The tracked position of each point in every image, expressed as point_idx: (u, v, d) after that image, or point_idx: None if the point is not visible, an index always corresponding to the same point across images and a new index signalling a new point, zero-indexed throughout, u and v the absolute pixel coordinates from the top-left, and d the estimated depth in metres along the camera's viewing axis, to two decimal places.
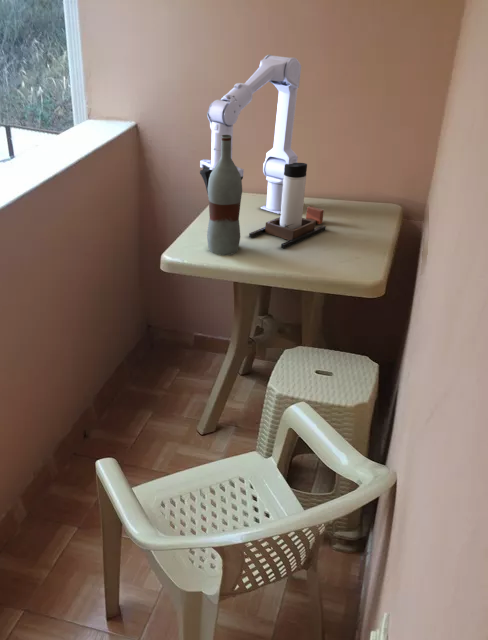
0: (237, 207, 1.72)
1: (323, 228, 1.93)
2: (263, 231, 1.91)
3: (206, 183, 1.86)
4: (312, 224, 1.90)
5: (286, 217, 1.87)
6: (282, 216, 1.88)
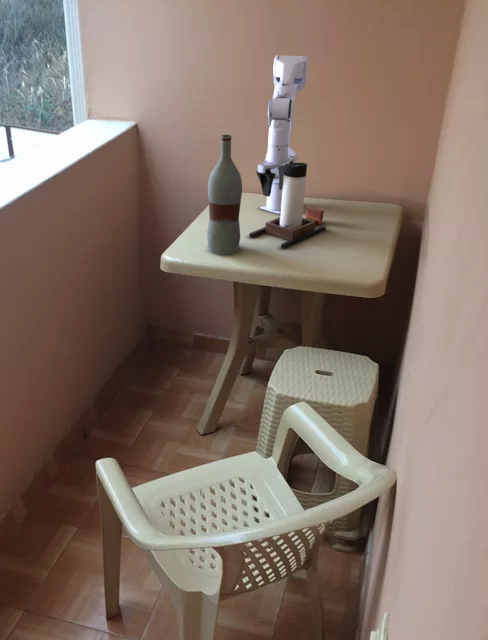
0: (237, 207, 1.72)
1: (323, 228, 1.93)
2: (263, 231, 1.91)
3: (271, 184, 1.86)
4: (312, 224, 1.90)
5: (286, 218, 1.87)
6: (282, 216, 1.88)
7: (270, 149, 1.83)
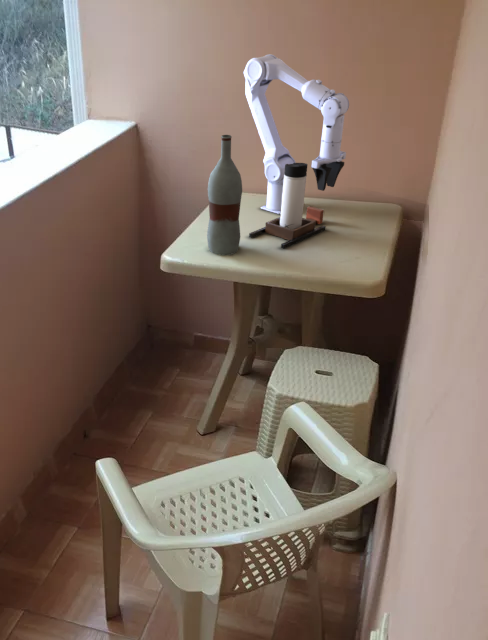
0: (237, 207, 1.72)
1: (323, 228, 1.93)
2: (263, 231, 1.91)
3: (326, 179, 1.92)
4: (312, 224, 1.90)
5: (286, 218, 1.87)
6: (282, 216, 1.88)
7: (323, 145, 1.88)
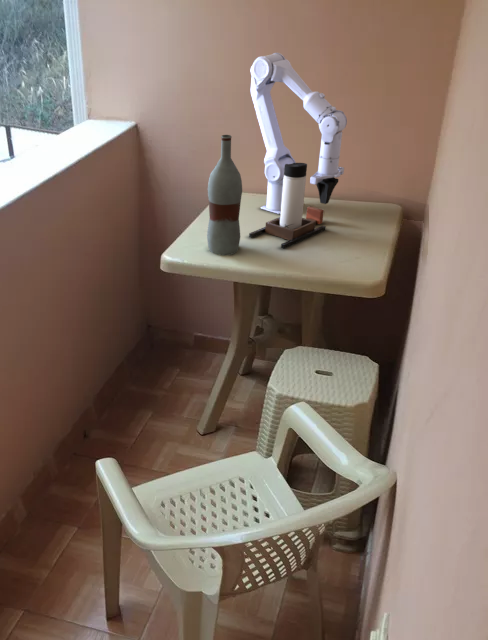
0: (237, 207, 1.72)
1: (323, 228, 1.93)
2: (263, 231, 1.91)
3: (329, 192, 1.95)
4: (312, 224, 1.90)
5: (286, 217, 1.87)
6: (282, 216, 1.88)
7: (322, 161, 1.90)
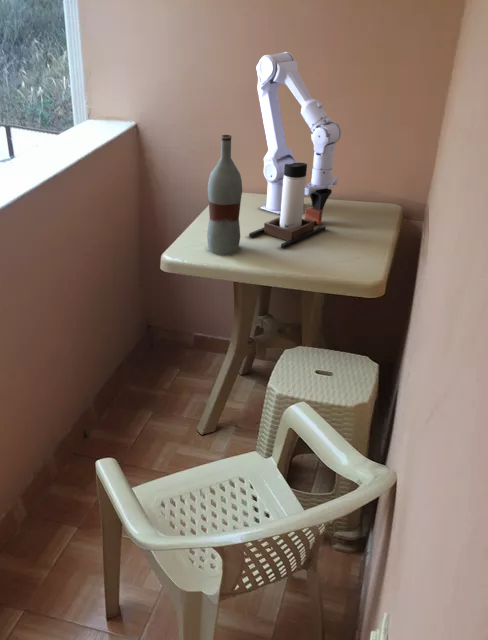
0: (237, 207, 1.72)
1: (323, 228, 1.93)
2: (263, 231, 1.91)
3: (322, 203, 1.95)
4: (311, 225, 1.89)
5: (286, 217, 1.87)
6: (282, 216, 1.88)
7: (315, 172, 1.90)
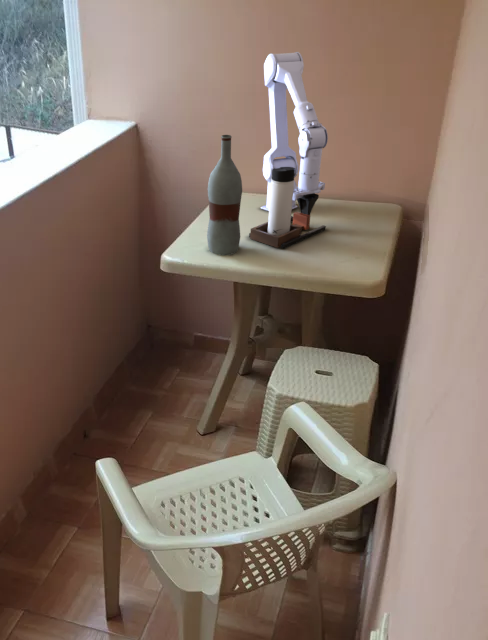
0: (237, 207, 1.72)
1: (323, 228, 1.93)
2: None
3: (310, 208, 1.92)
4: (298, 230, 1.86)
5: (274, 223, 1.84)
6: (270, 221, 1.85)
7: (301, 177, 1.86)
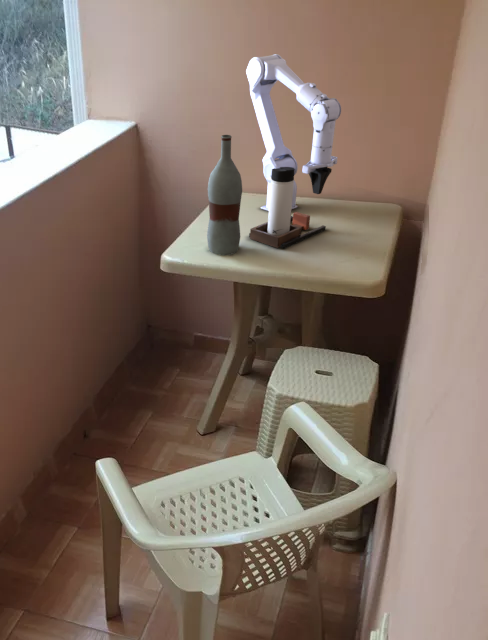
0: (237, 207, 1.72)
1: (323, 228, 1.93)
2: None
3: (321, 182, 1.91)
4: (298, 230, 1.86)
5: (274, 223, 1.84)
6: (270, 221, 1.85)
7: (314, 150, 1.86)
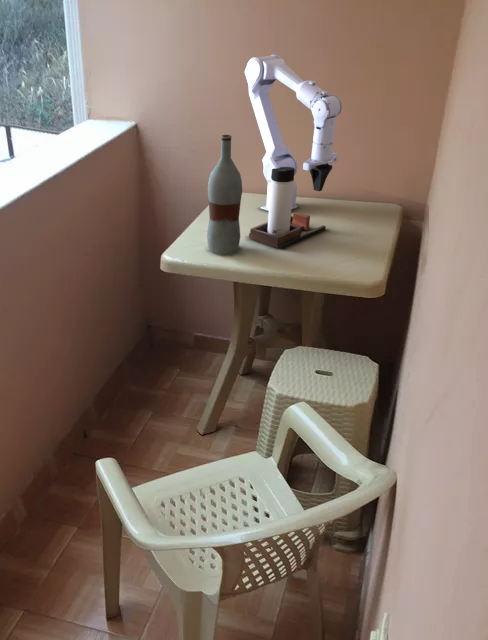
0: (237, 207, 1.72)
1: (323, 228, 1.93)
2: None
3: (322, 179, 1.91)
4: (298, 230, 1.86)
5: (274, 223, 1.84)
6: (270, 221, 1.85)
7: (315, 147, 1.86)
